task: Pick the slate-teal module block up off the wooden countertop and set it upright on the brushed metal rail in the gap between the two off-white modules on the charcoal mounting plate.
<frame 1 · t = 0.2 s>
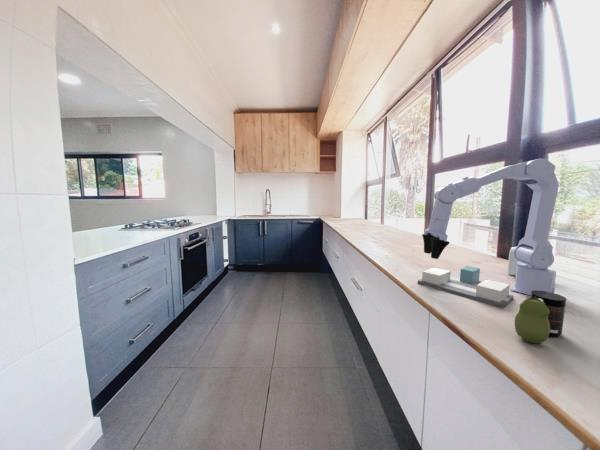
hand: (430, 255, 87), 11 cm above the table, fingers open, 7 cm apart
pear: (529, 341, 53), on the table
module block: (469, 281, 91), on the table
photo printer: (523, 277, 96), on the table
supplement container: (543, 331, 57), on the table
rail plate: (461, 290, 82), on the table
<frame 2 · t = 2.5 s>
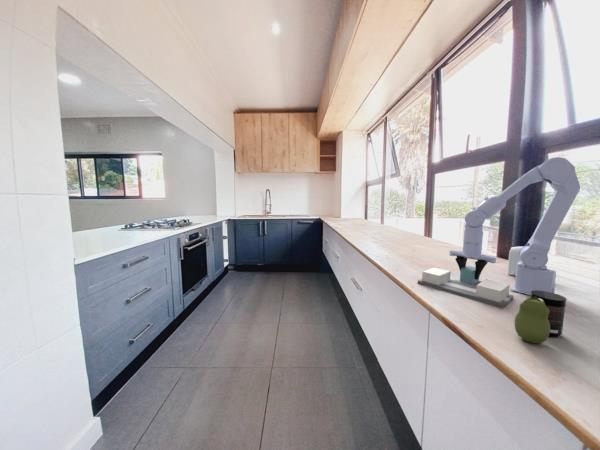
hand: (469, 277, 91), 1 cm above the table, fingers closed on module block, 4 cm apart
module block: (469, 280, 91), on the table, touching gripper
everything else where it was.
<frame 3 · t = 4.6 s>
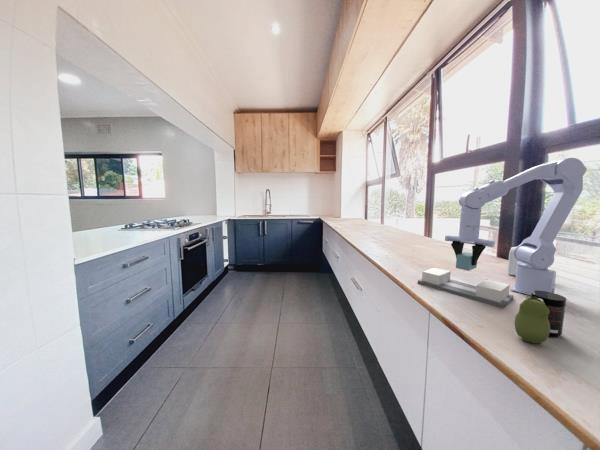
hand: (466, 263, 84), 8 cm above the table, fingers closed on module block, 4 cm apart
module block: (466, 267, 85), point 7 cm above the table, touching gripper
everything else where it was.
when the fingers open (4 cm above the table, at t = 6.5 s): module block drops 1 cm, resting on rail plate.
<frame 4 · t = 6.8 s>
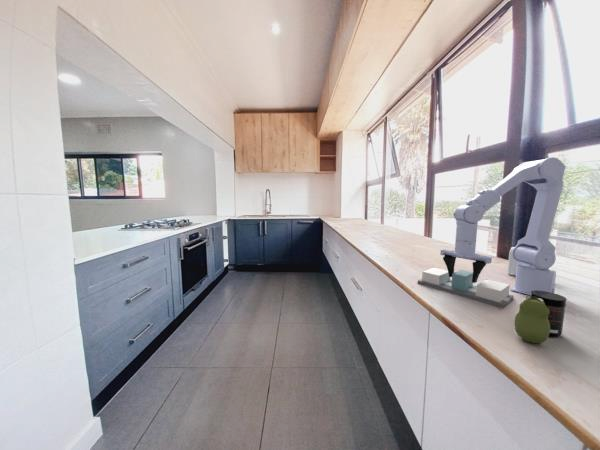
hand: (462, 279, 81), 4 cm above the table, fingers open, 6 cm apart
module block: (461, 287, 82), point 1 cm above the table, touching rail plate
everything else where it was.
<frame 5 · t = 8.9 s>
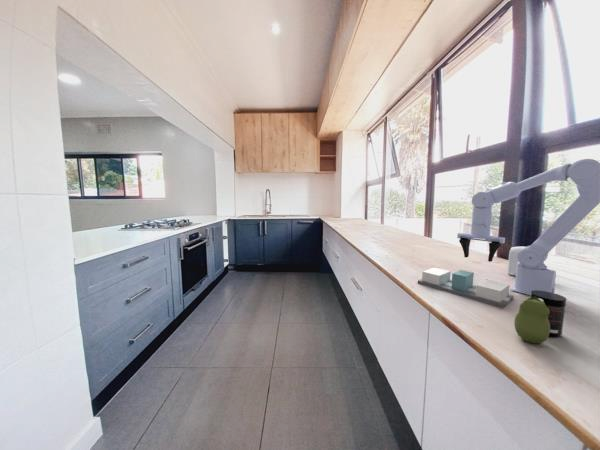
hand: (477, 259, 91), 8 cm above the table, fingers open, 7 cm apart
nothing on the table moved.
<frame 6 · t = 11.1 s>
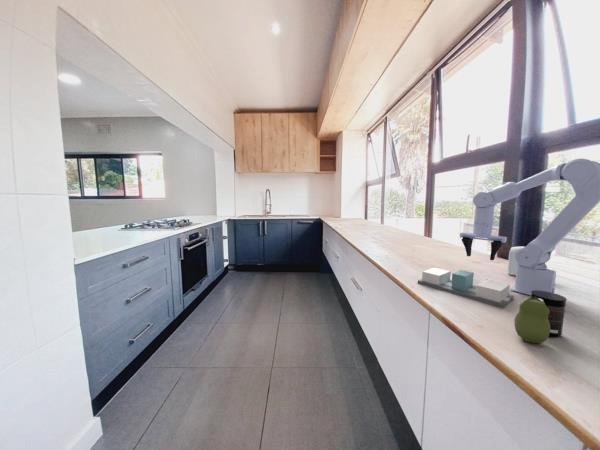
hand: (480, 257, 93), 8 cm above the table, fingers open, 7 cm apart
nothing on the table moved.
at the end: module block 0.2 cm off-centre on the rail plate, point 1.0 cm above the rail plate's base; module block tilted 0°; the gripper is holding nothing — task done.
